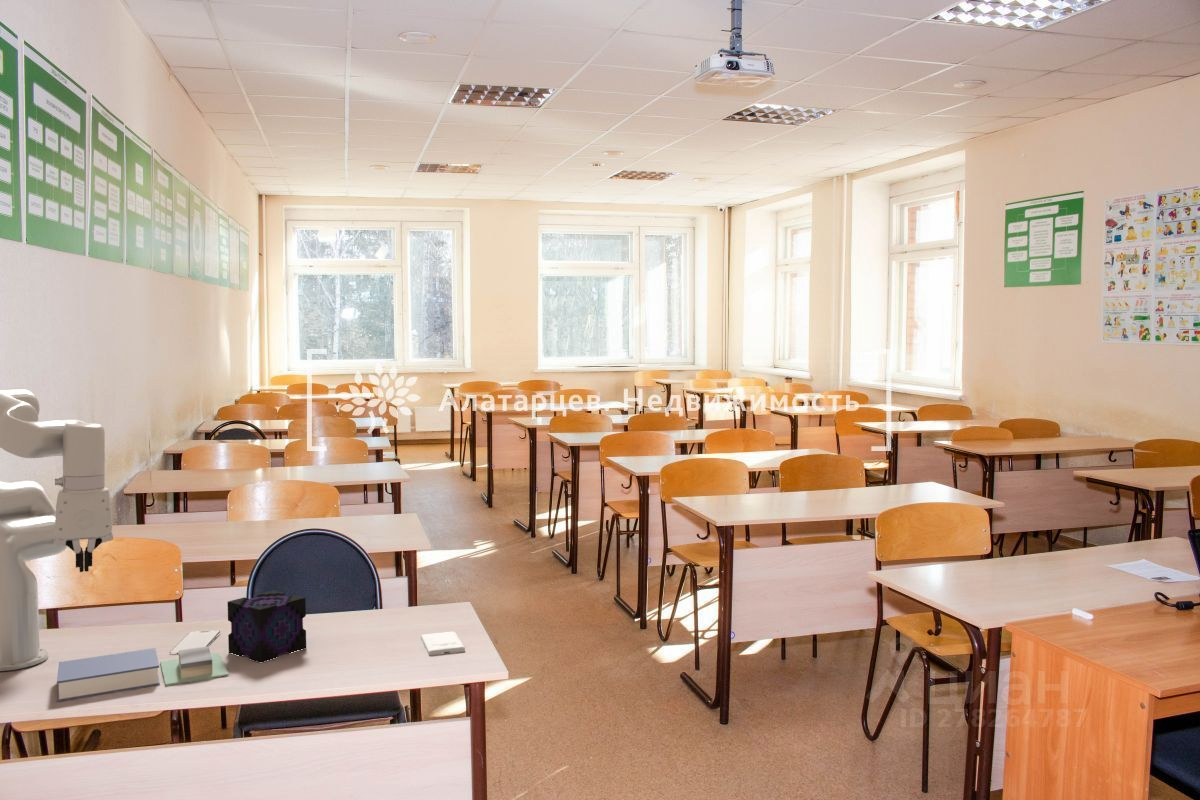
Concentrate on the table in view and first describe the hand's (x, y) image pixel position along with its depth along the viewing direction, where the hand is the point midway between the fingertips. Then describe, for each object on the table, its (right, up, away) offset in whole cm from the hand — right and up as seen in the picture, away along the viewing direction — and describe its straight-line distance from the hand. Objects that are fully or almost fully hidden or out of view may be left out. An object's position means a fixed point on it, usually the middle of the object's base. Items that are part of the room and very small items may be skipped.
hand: (83, 570), depth 187 cm
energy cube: (+31, -22, +19) cm, 43 cm away
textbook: (+6, -23, -1) cm, 24 cm away
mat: (+20, -23, +7) cm, 31 cm away
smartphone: (+12, -23, +25) cm, 35 cm away
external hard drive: (+71, -22, +22) cm, 78 cm away
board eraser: (+21, -21, +6) cm, 30 cm away
